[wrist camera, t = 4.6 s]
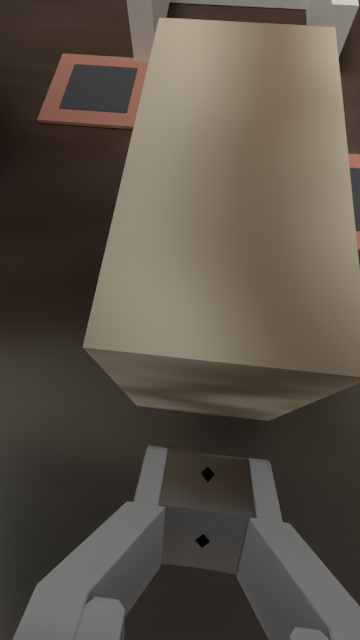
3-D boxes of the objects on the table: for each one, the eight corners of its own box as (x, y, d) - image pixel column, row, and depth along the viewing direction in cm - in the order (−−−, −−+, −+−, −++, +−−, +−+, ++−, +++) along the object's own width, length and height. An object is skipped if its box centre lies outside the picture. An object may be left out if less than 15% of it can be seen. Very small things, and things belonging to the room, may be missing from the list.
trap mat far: (38, 122, 22) (36, 118, 22) (63, 56, 25) (62, 52, 25) (142, 129, 22) (141, 126, 22) (156, 62, 25) (156, 58, 24)
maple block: (136, 406, 16) (82, 347, 7) (169, 200, 20) (159, 17, 12) (268, 421, 15) (370, 378, 7) (271, 209, 20) (335, 27, 11)
